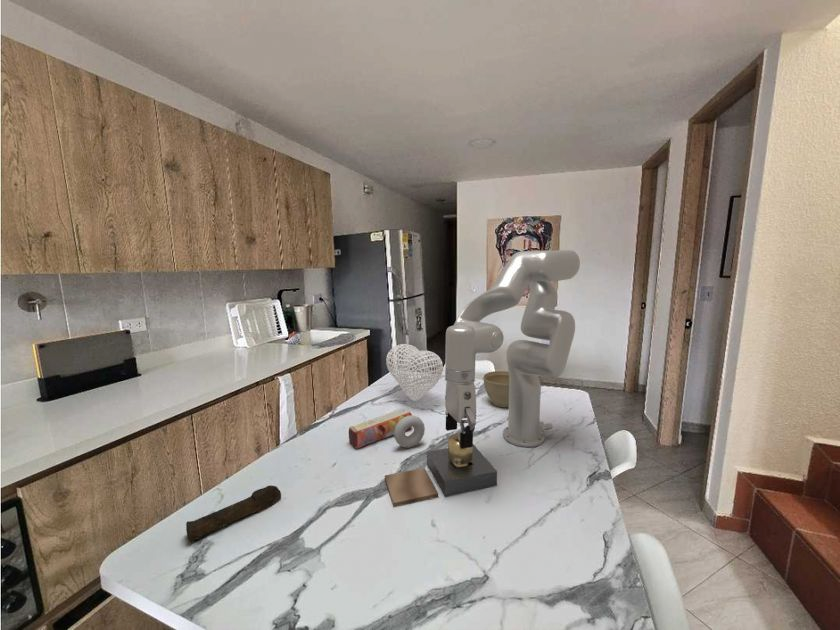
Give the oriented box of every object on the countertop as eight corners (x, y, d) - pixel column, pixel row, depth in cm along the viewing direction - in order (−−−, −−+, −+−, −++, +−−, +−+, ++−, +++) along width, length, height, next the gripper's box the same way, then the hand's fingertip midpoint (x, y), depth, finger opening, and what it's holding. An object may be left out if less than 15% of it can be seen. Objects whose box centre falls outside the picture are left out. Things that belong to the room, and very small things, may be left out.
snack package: (356, 451, 104) (355, 430, 103) (347, 443, 110) (346, 422, 109) (413, 430, 117) (413, 411, 116) (403, 423, 122) (402, 405, 121)
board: (424, 471, 94) (424, 467, 94) (438, 497, 83) (438, 493, 83) (384, 478, 91) (384, 475, 91) (393, 506, 80) (393, 503, 80)
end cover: (466, 466, 96) (466, 432, 94) (476, 479, 90) (476, 443, 88) (444, 470, 94) (444, 436, 93) (453, 484, 88) (453, 448, 87)
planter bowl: (503, 392, 149) (503, 368, 147) (533, 405, 135) (534, 378, 134) (474, 400, 140) (474, 375, 139) (503, 415, 127) (504, 387, 125)
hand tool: (188, 548, 70) (186, 527, 69) (186, 536, 73) (184, 516, 72) (284, 506, 81) (283, 488, 81) (279, 497, 85) (278, 480, 84)
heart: (451, 406, 135) (450, 351, 132) (418, 417, 126) (417, 358, 123) (410, 386, 158) (409, 339, 154) (380, 394, 149) (379, 344, 145)
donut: (397, 453, 103) (396, 421, 101) (392, 447, 106) (391, 417, 104) (426, 445, 107) (426, 414, 106) (422, 440, 110) (421, 410, 109)
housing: (472, 456, 101) (473, 443, 100) (496, 485, 87) (497, 471, 87) (427, 465, 97) (426, 451, 96) (444, 497, 83) (444, 481, 83)
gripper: (489, 383, 80) (487, 452, 83) (460, 364, 97) (458, 422, 99) (459, 386, 78) (458, 457, 81) (434, 366, 95) (433, 425, 97)
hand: (458, 438), depth 90 cm, fingers open, 9 cm apart
